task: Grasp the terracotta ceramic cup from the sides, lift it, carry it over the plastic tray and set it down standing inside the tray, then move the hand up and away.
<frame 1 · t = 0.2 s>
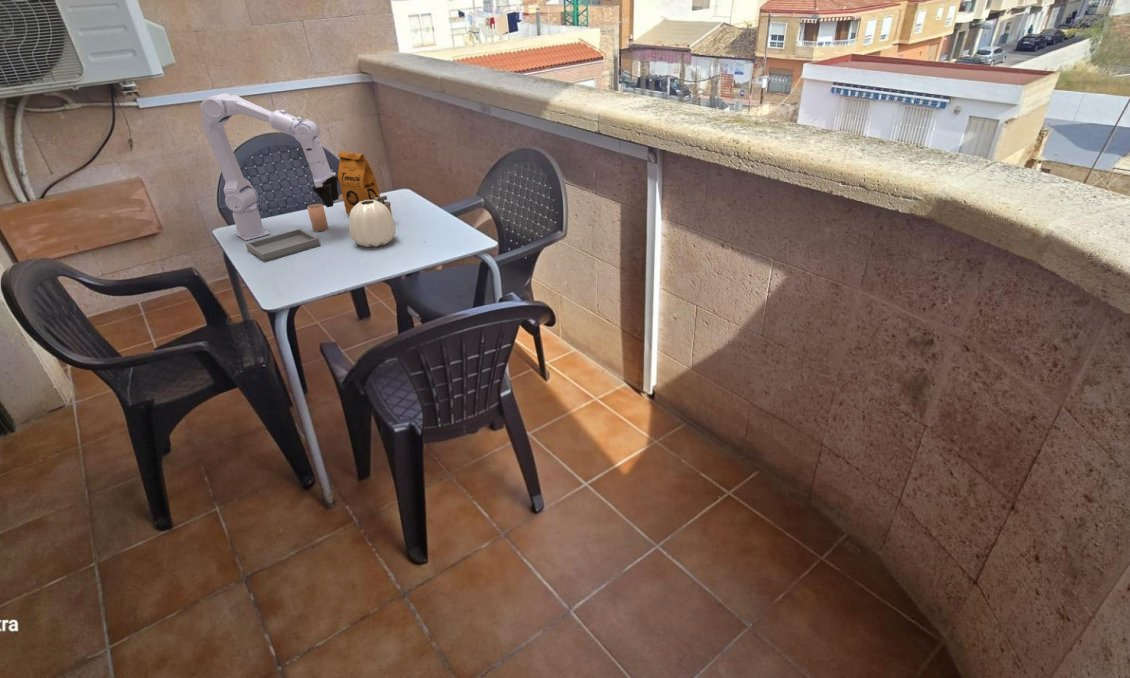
hand: (332, 203, 188), 10 cm above the table, tool pointing down, fingers open, 7 cm apart
vase: (375, 243, 185), on the table
tray: (284, 248, 183), on the table
coffee package: (365, 215, 210), on the table
cup: (320, 229, 198), on the table
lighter: (383, 226, 199), on the table
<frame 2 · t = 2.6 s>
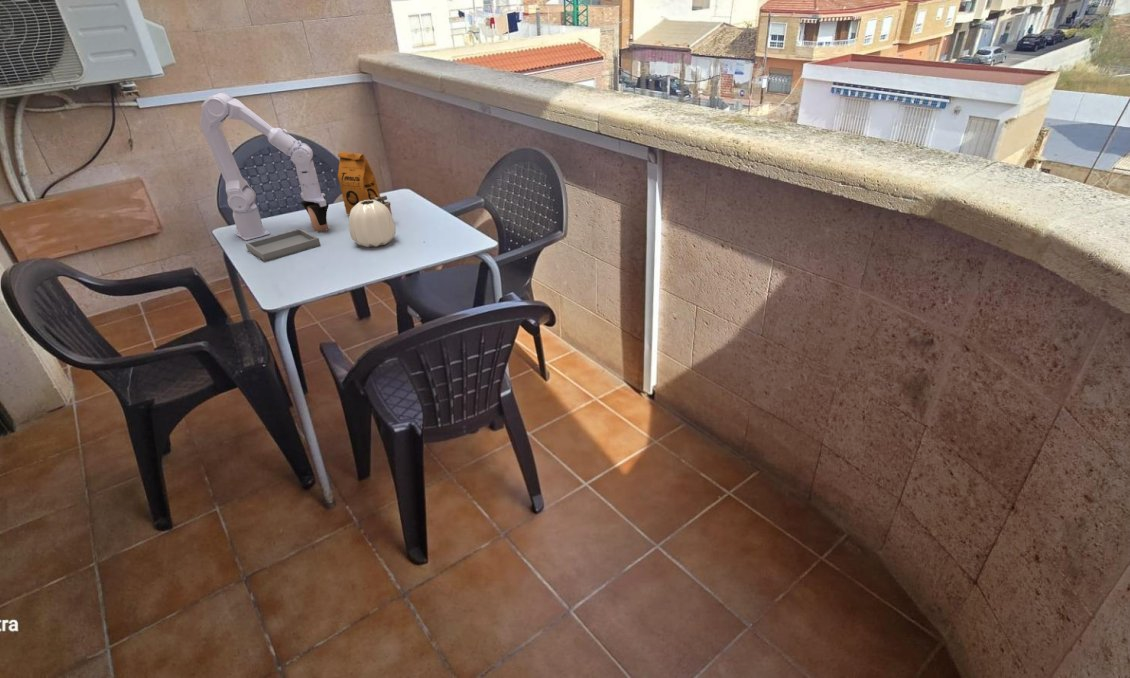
hand: (319, 222, 196), 2 cm above the table, tool pointing down, fingers closed on cup, 5 cm apart
cup: (320, 229, 198), on the table, touching gripper
everything else where it was.
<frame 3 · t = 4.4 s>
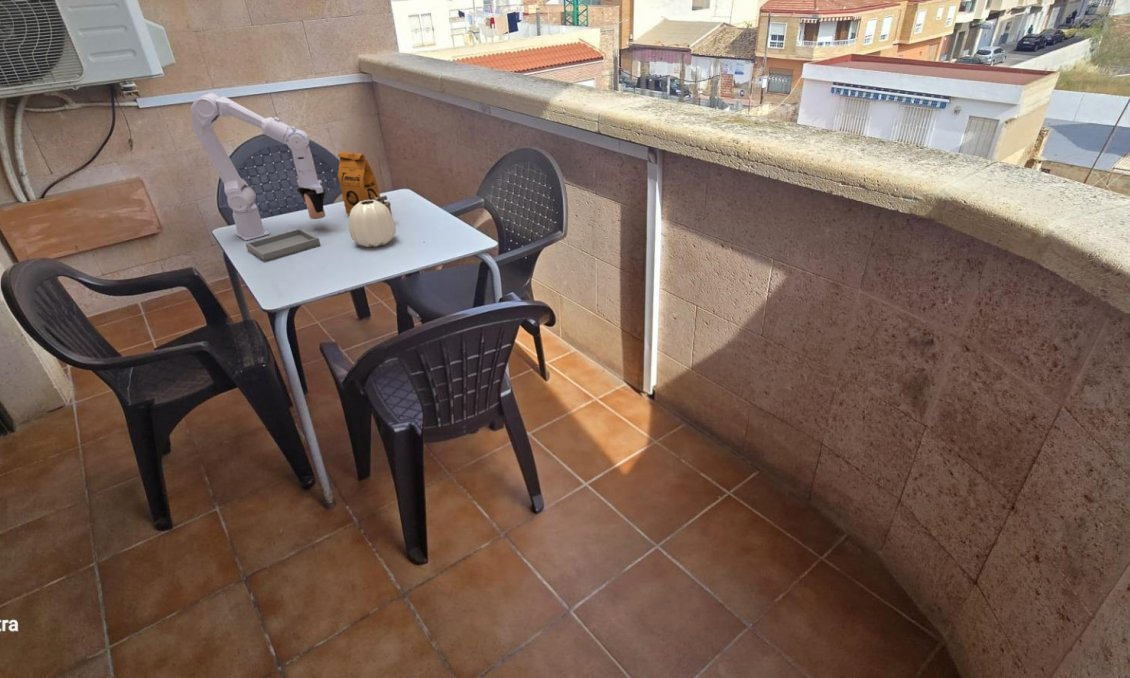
hand: (316, 210, 194), 7 cm above the table, tool pointing down, fingers closed on cup, 5 cm apart
cup: (317, 216, 195), point 4 cm above the table, touching gripper
everything else where it was.
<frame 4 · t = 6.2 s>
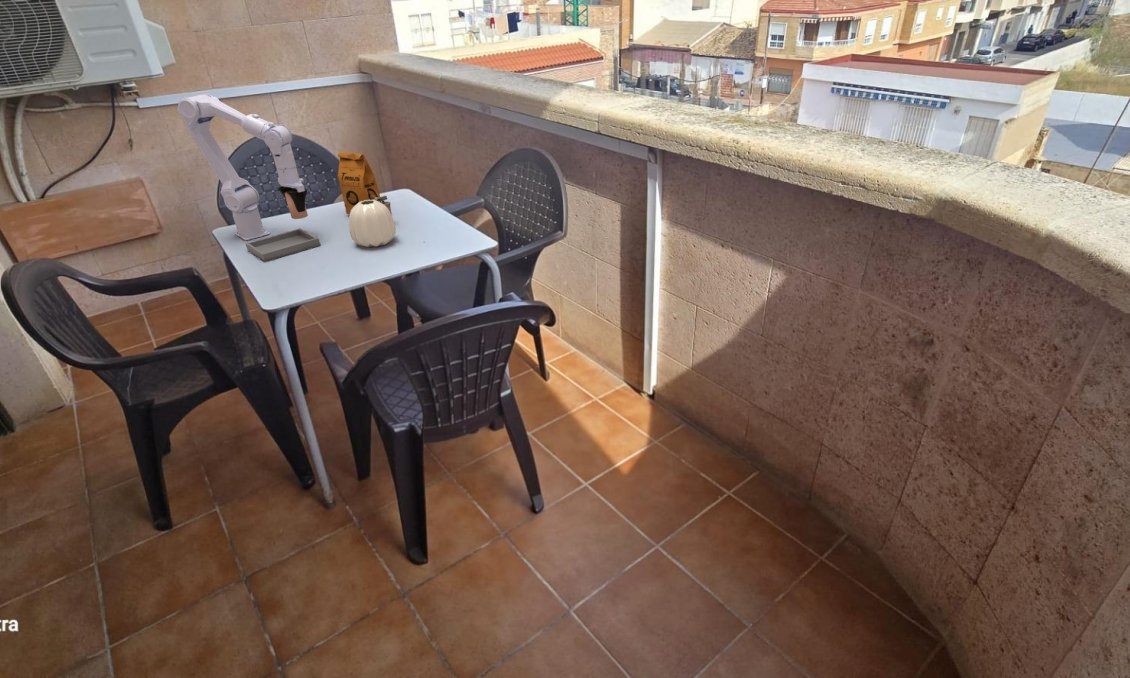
hand: (297, 209, 186), 9 cm above the table, tool pointing down, fingers closed on cup, 5 cm apart
cup: (299, 216, 187), point 7 cm above the table, touching gripper
everything else where it was.
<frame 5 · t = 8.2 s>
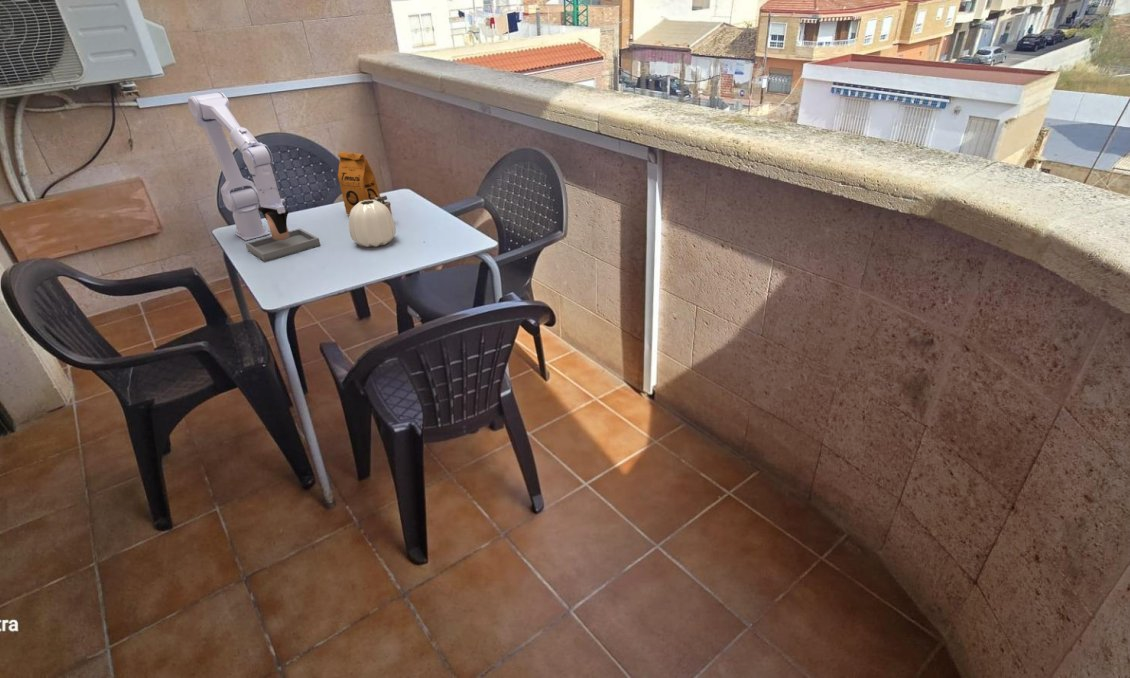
hand: (279, 230, 180), 6 cm above the table, tool pointing down, fingers closed on cup, 5 cm apart
cup: (281, 237, 181), point 4 cm above the table, touching gripper
everything else where it was.
when the fingers open (4 cm above the table, at t = 9.8 s): cup drops 1 cm, resting on tray.
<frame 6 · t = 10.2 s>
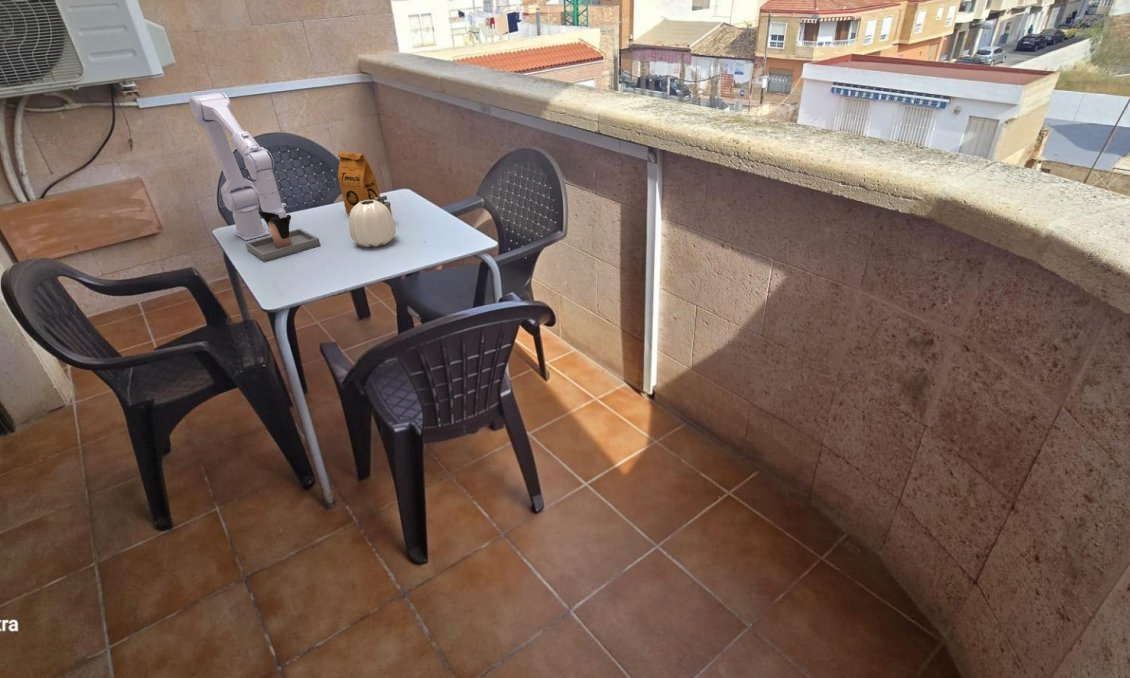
hand: (280, 235, 181), 4 cm above the table, tool pointing down, fingers open, 7 cm apart
cup: (283, 245, 183), point 1 cm above the table, touching tray
everything else where it was.
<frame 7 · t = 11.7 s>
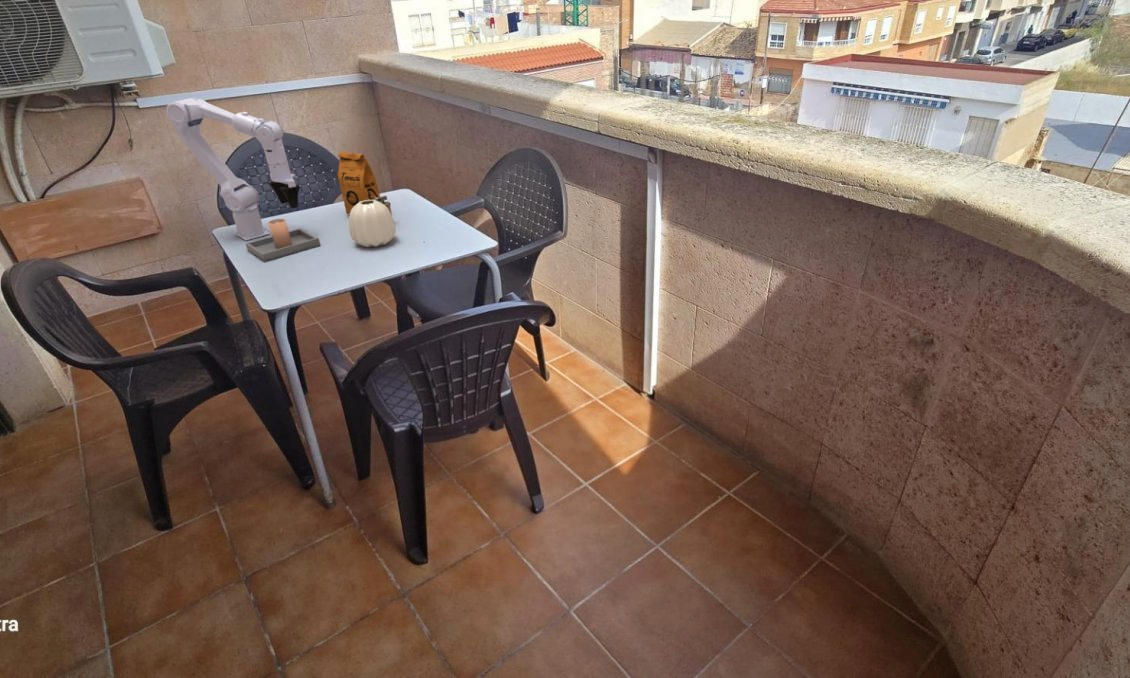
hand: (289, 205, 187), 10 cm above the table, tool pointing down, fingers open, 7 cm apart
nothing on the table moved.
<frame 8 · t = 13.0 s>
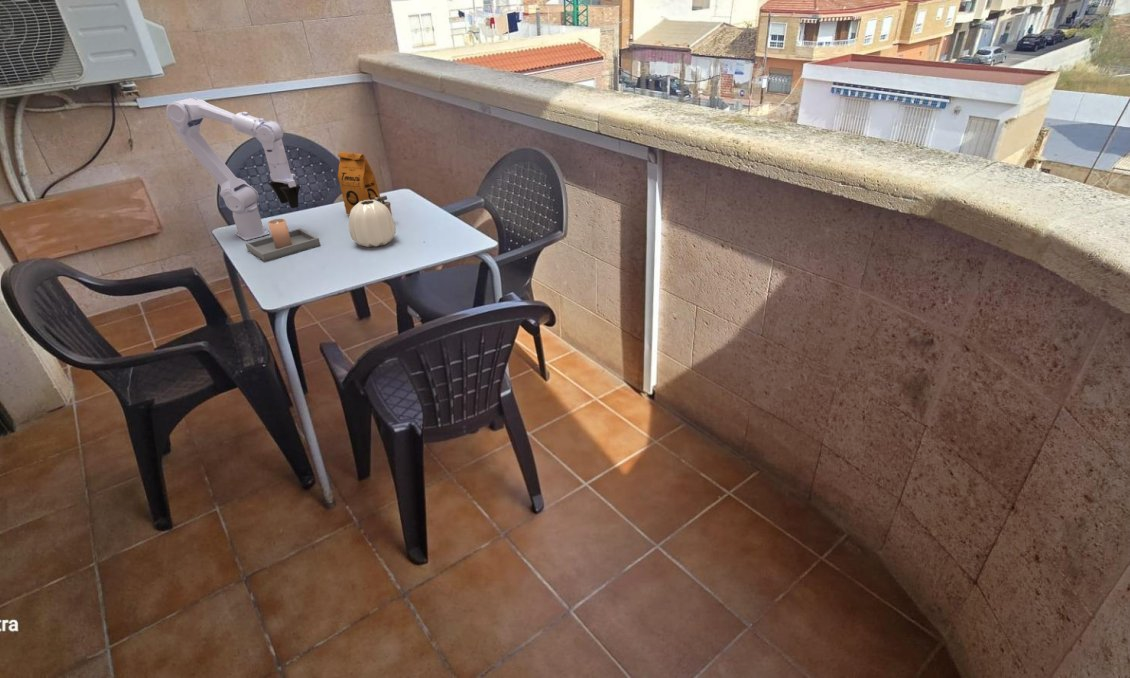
hand: (289, 205, 187), 10 cm above the table, tool pointing down, fingers open, 7 cm apart
nothing on the table moved.
at the end: cup inside the target area on the tray (0.0 cm from its centre), point 0.8 cm above the tray's base; cup tilted 1°; the gripper is holding nothing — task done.
